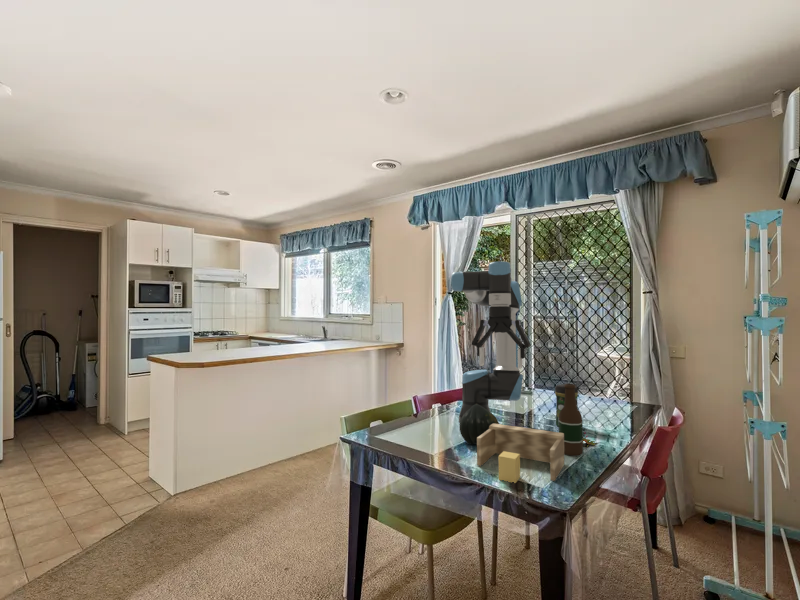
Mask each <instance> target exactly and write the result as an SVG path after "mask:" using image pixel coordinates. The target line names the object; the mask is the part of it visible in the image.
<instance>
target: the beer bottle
mask: <svg viewBox="0 0 800 600" xmlns="http://www.w3.org/2000/svg"><path fill="white" fill-rule="evenodd" d="M564 384H565V386H564V387H565V401H564V407H563V408H562V410H561V411H560V414H559V427H558V432H559V433H564V455H567V456H570V457H579V456H581V455H582V454H583V452H584V451H583V450H584V446H583V445H584V442H583V438H584V437H583V435H584V434H583V433H584V431H583V430H584V429H583V417H582V414H581V412H580V410H579V408H578V409H577V406H576V398H575V388H576V387H575V385H576V384H575V385H573V384H574V383H570V384H566V383H564Z"/></svg>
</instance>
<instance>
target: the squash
mask: <svg viewBox="0 0 800 600" xmlns="http://www.w3.org/2000/svg"><path fill="white" fill-rule="evenodd" d="M493 423H494V424H500V423H499V421H498V418H497V416H495V415H494V414H493V413H492V412H491V411H490V412H489V411H488V410H486V409H485V408H483V407H482V406H480V405H478V404H475V405H473V406H472V407H471V408H470V409H469V410H468V411H467V412H466V413H465V414H464V415H463V416H462V418H461V420H460V422H459V431H460V435H461V437H462V439H464V442H465V443H466V444H469V445H477V437H479V436H480V435H481V434H483V433H484V432H486V431H487V430H488V429H489V426H490V425H491V424H493Z"/></svg>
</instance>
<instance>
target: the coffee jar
mask: <svg viewBox="0 0 800 600" xmlns="http://www.w3.org/2000/svg"><path fill="white" fill-rule="evenodd" d="M565 384H571V383H570V382H566V383H561V384H557V385H555V390H554V394H555V398H556V399H555V400H556V401H555V402H556V409H555V410H556V411H555V412H556V413H555V426H557V427H558V428H559V414H560V411H561V410H562V408H563V407H564V401H565V387H564V386H565ZM572 384H573V385H575V387H576V388H575V398H576V406H577V409H578V410H579V408H578V407H579V405H578V397H579V391H578V385H577V384H575V383H572Z"/></svg>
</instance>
